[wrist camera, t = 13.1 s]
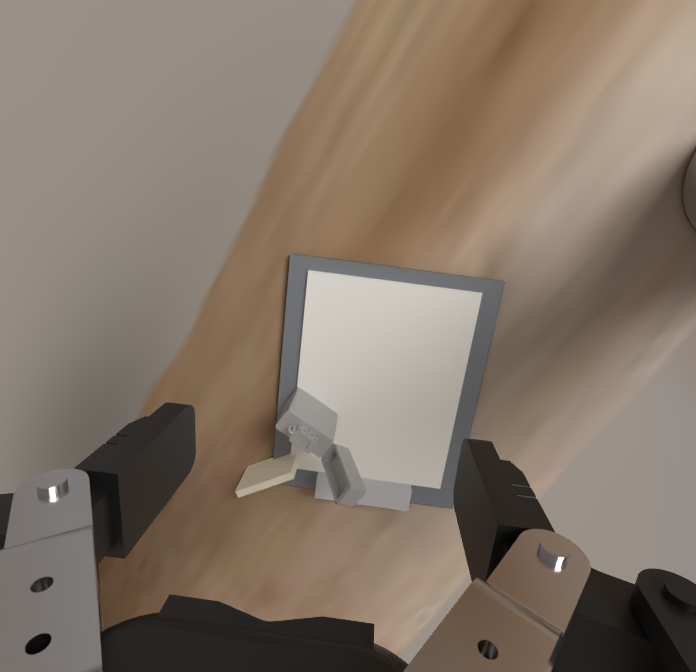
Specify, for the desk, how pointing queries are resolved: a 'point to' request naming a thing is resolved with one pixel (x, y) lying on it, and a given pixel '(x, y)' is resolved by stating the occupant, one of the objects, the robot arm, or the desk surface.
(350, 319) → the clipboard
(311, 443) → the lighter
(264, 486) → the cream rectangular slab
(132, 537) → the robot arm
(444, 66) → the desk surface
